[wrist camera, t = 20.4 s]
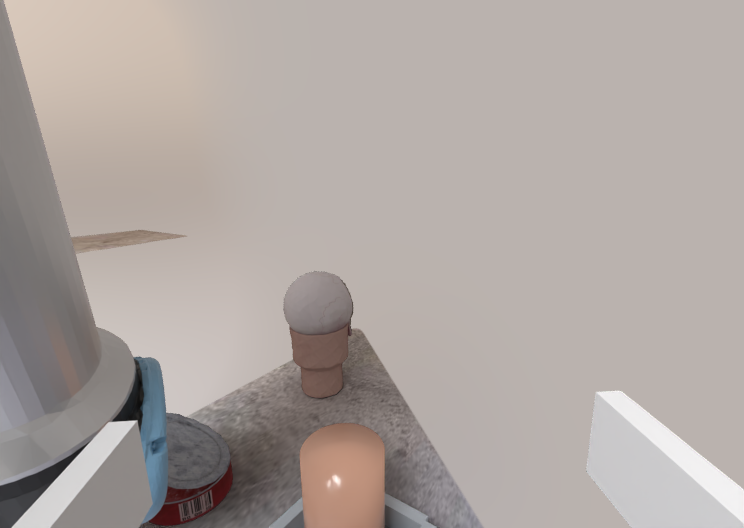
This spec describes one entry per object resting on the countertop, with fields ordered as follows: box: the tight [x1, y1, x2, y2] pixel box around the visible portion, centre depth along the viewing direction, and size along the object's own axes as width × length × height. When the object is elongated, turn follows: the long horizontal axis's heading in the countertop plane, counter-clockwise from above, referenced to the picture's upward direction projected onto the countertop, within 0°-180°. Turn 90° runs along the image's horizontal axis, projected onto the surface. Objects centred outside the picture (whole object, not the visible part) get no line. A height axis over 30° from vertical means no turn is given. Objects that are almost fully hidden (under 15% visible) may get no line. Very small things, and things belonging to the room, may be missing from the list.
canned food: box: [149, 413, 233, 526], centre depth 46 cm, size 11×10×10 cm
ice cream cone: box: [284, 271, 353, 398], centre depth 65 cm, size 11×11×20 cm
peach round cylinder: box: [300, 423, 385, 528], centre depth 35 cm, size 7×7×12 cm
